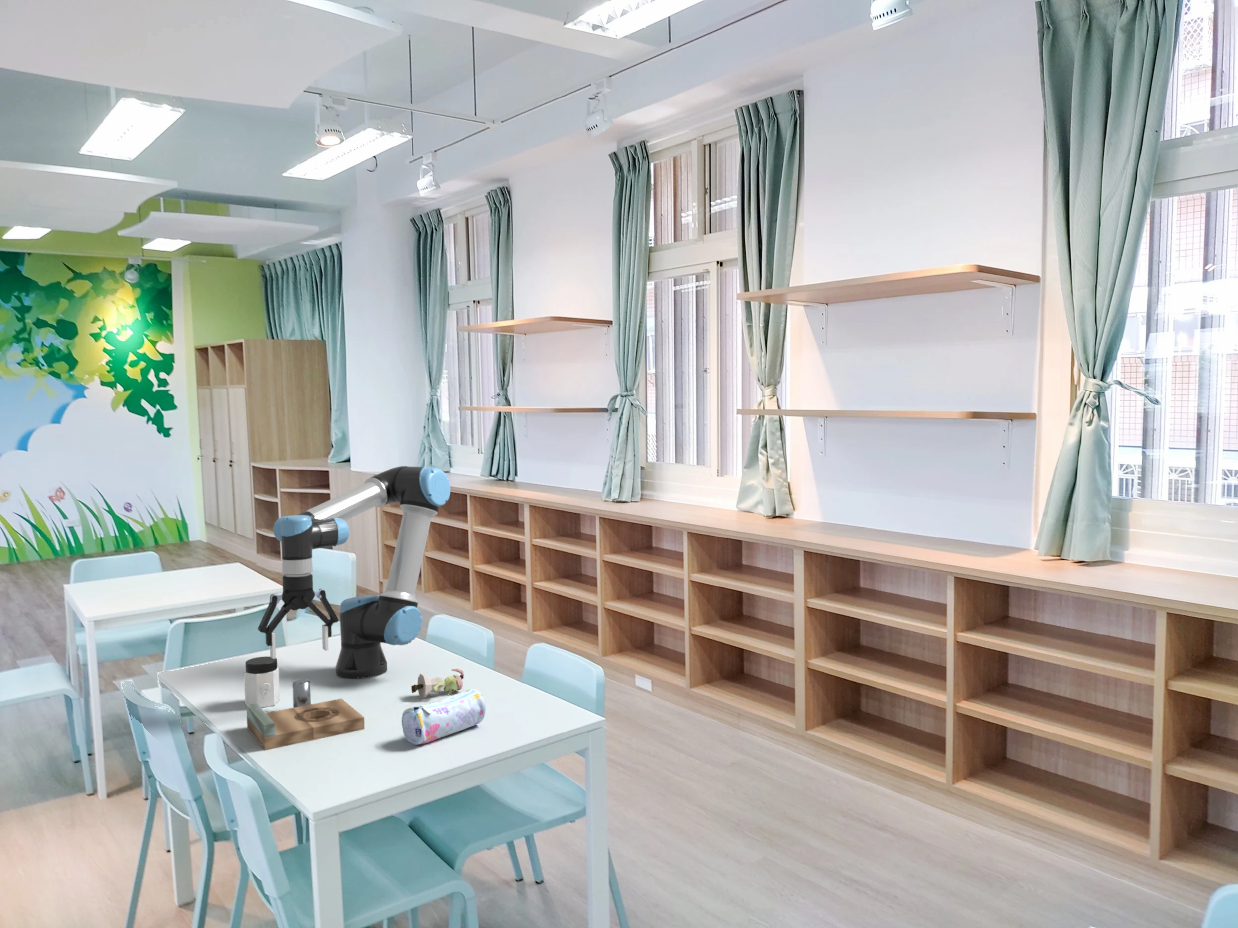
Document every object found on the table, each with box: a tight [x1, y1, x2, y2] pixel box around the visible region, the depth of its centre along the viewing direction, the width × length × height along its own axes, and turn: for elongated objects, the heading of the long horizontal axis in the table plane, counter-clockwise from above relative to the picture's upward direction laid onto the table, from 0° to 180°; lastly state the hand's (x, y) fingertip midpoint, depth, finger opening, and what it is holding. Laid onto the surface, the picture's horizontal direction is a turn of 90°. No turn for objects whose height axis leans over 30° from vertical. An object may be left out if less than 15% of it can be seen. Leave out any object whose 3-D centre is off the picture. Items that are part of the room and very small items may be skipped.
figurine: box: [410, 668, 465, 700], centre depth 256 cm, size 9×7×15 cm
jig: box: [246, 698, 365, 751], centre depth 230 cm, size 24×18×6 cm
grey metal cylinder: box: [292, 678, 312, 708], centre depth 243 cm, size 4×4×8 cm
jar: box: [243, 655, 281, 709], centre depth 249 cm, size 9×8×12 cm
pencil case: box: [401, 688, 486, 746], centre depth 225 cm, size 21×9×10 cm, turn 136°
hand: (299, 653), depth 242 cm, fingers open, 13 cm apart
